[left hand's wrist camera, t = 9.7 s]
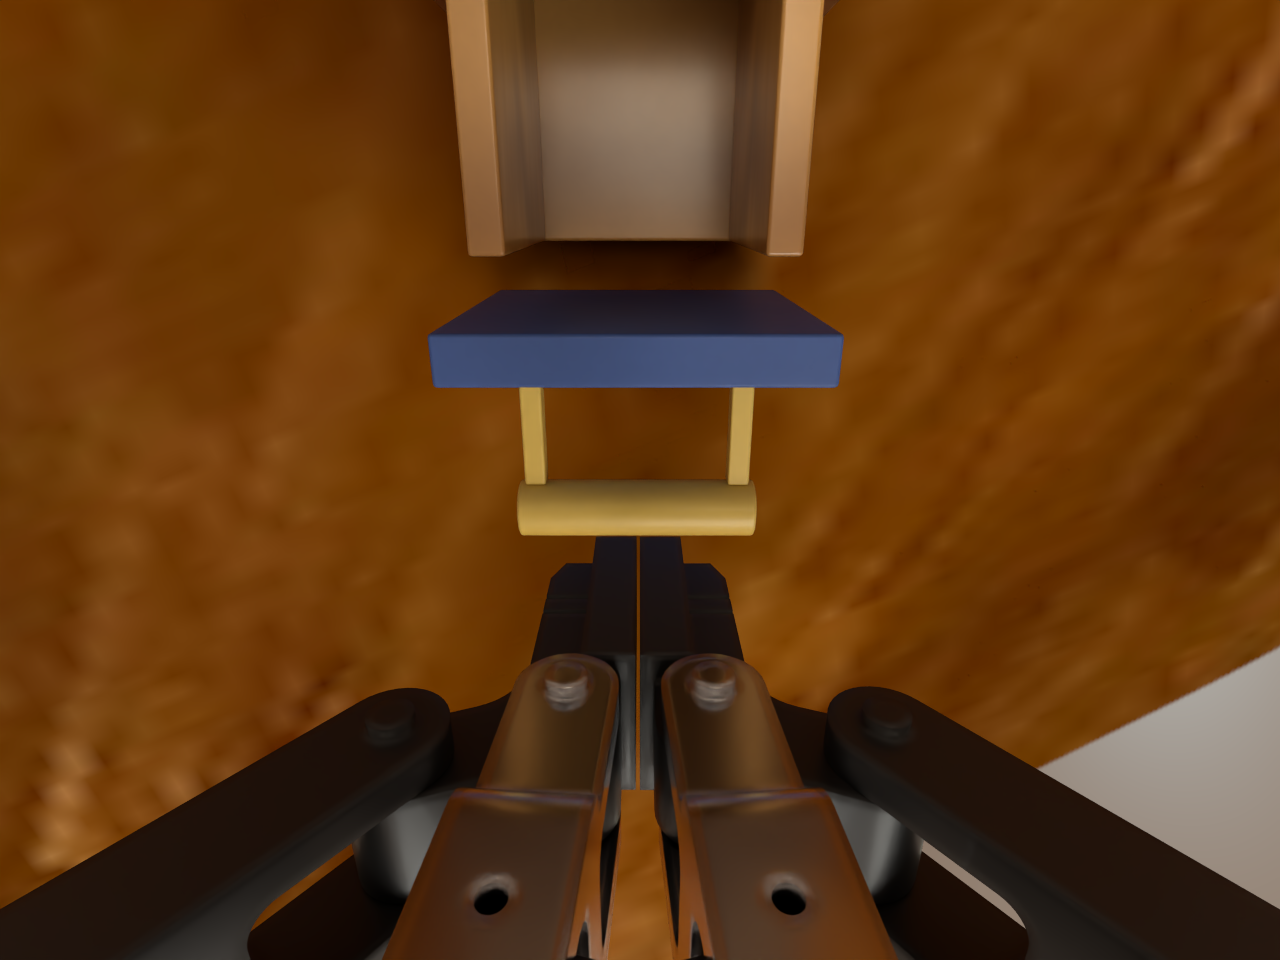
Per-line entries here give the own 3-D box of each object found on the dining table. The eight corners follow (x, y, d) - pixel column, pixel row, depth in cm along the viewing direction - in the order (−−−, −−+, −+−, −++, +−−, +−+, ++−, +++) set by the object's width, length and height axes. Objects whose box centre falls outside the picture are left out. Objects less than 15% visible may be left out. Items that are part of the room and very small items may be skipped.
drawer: (762, 475, 25) (816, 596, 17) (512, 475, 25) (456, 596, 17) (827, -450, 16) (997, -1041, 8) (444, -450, 16) (267, -1039, 8)
